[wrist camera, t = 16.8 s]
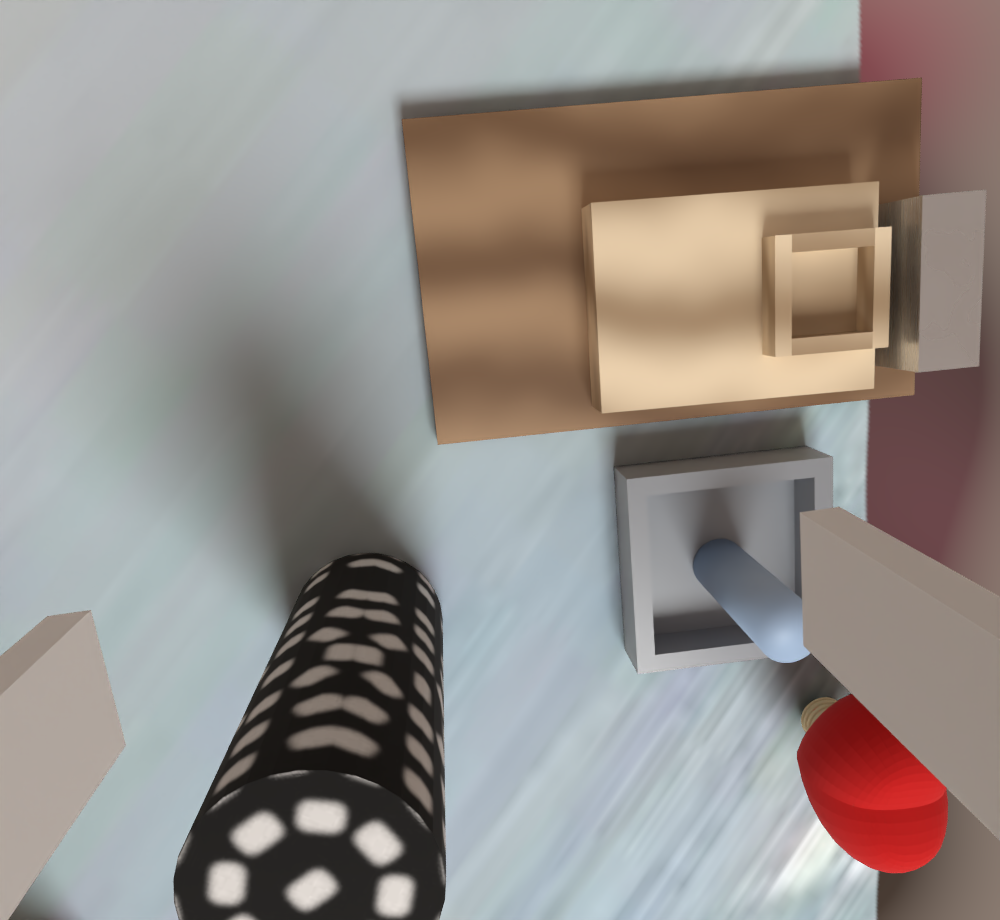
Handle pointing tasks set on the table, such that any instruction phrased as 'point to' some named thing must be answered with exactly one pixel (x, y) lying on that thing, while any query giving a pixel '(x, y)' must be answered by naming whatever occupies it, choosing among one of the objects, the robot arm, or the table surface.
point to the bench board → (559, 237)
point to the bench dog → (934, 281)
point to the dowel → (753, 599)
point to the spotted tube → (333, 764)
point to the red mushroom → (870, 787)
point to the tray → (692, 523)
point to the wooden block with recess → (735, 295)
